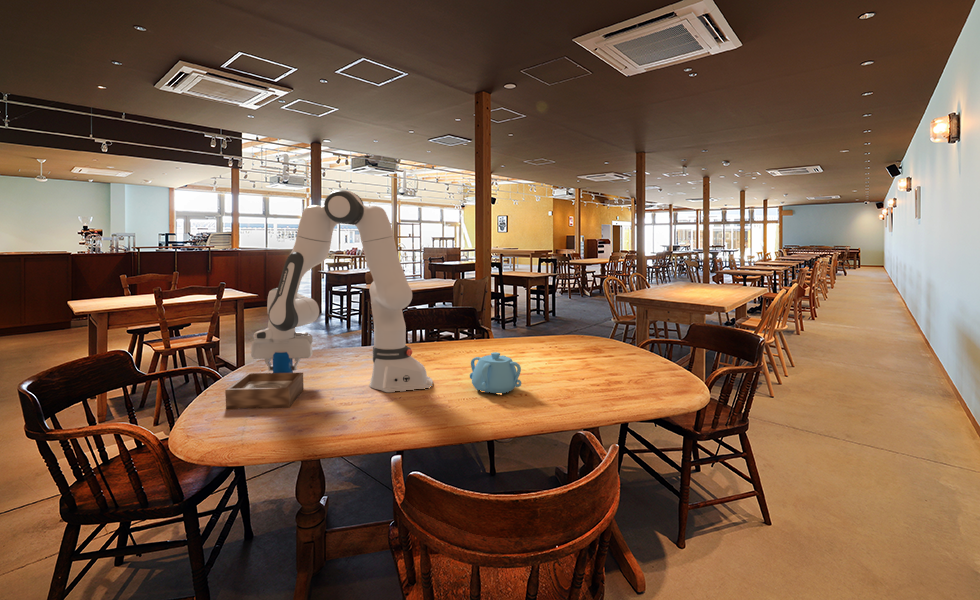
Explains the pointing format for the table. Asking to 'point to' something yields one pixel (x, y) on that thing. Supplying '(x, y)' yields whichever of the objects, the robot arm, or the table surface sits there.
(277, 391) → the caddy
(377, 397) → the table surface
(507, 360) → the decorative pot
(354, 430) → the table surface
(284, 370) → the beverage can
